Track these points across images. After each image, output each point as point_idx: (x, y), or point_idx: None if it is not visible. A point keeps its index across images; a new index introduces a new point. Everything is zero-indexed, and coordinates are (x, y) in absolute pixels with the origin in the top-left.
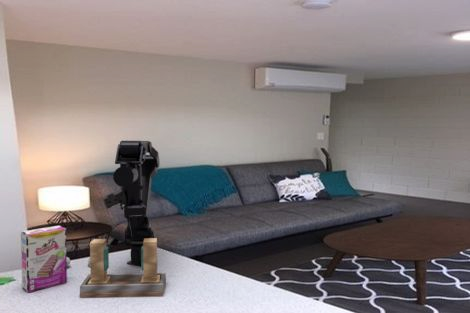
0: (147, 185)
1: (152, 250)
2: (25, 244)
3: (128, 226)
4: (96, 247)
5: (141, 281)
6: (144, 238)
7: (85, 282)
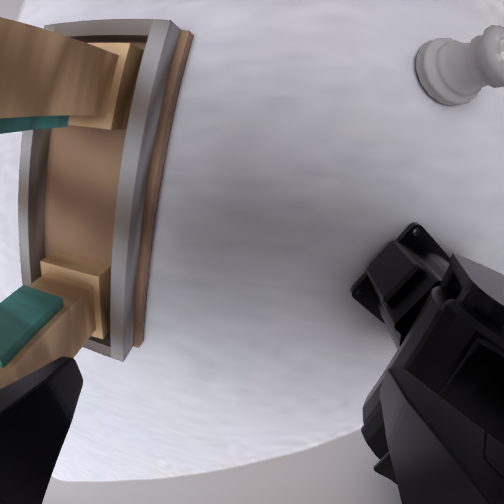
0: None
1: None
2: None
3: (404, 387)
4: None
5: (45, 264)
6: None
7: (72, 33)
